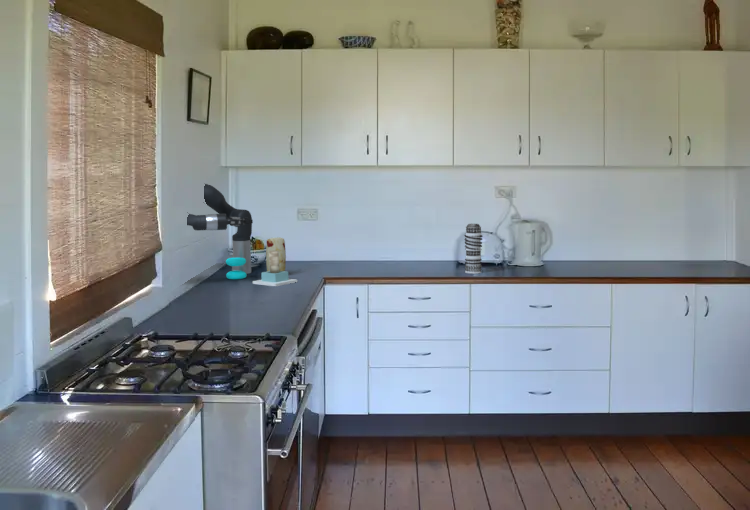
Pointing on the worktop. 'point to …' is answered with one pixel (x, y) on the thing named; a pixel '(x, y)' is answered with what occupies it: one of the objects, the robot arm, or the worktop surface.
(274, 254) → the birch peg
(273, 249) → the food model
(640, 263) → the worktop surface
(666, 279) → the worktop surface
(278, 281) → the socket block
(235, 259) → the donuts
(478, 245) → the decorative candle
